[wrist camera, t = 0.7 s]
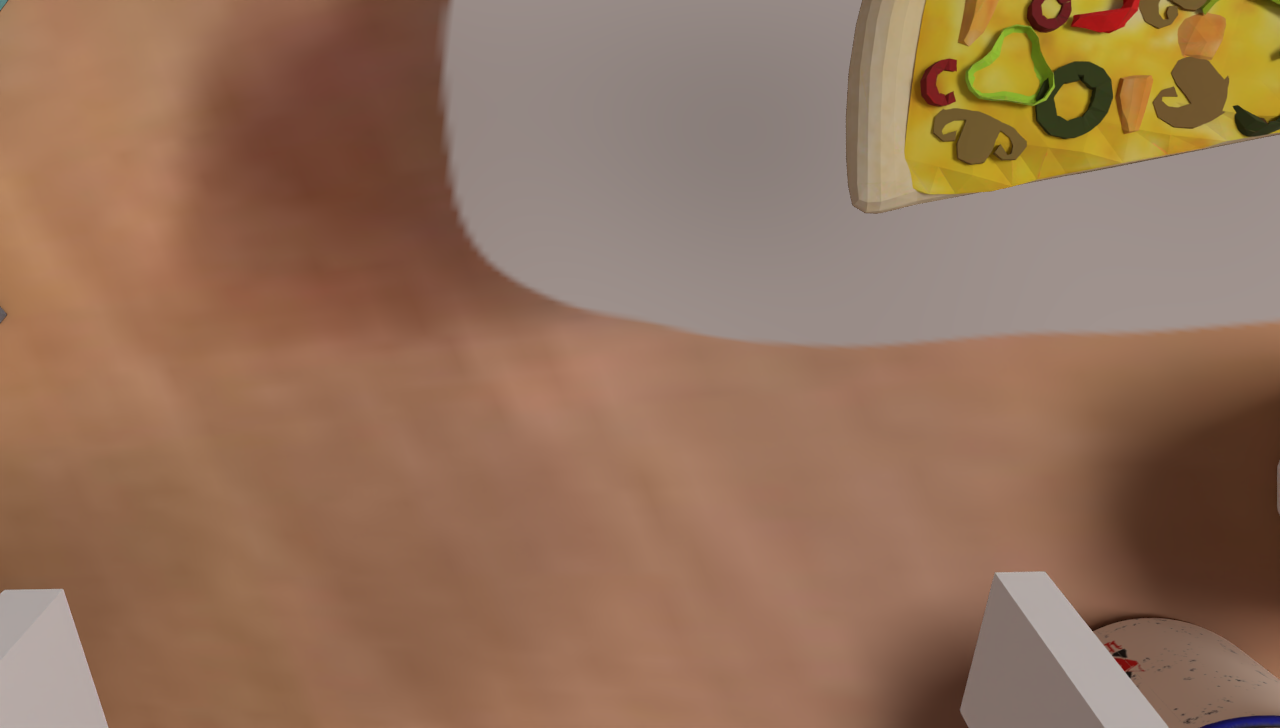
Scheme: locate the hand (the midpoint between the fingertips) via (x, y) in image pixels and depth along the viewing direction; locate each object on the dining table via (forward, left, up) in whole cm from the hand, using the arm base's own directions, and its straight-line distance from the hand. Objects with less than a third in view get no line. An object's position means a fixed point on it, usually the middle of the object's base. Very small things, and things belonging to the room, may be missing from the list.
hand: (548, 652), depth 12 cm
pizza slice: (-15, +16, -24) cm, 32 cm away
